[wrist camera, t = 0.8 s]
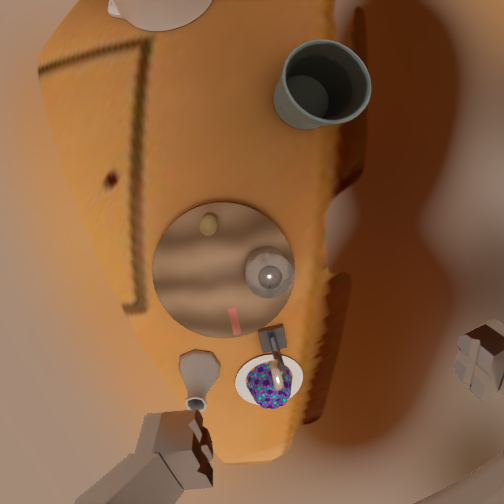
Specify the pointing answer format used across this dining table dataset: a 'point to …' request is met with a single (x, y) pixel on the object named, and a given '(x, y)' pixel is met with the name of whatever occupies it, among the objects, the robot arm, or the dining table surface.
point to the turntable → (216, 269)
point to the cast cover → (268, 272)
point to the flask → (198, 376)
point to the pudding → (267, 382)
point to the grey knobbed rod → (274, 352)
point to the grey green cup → (321, 85)
